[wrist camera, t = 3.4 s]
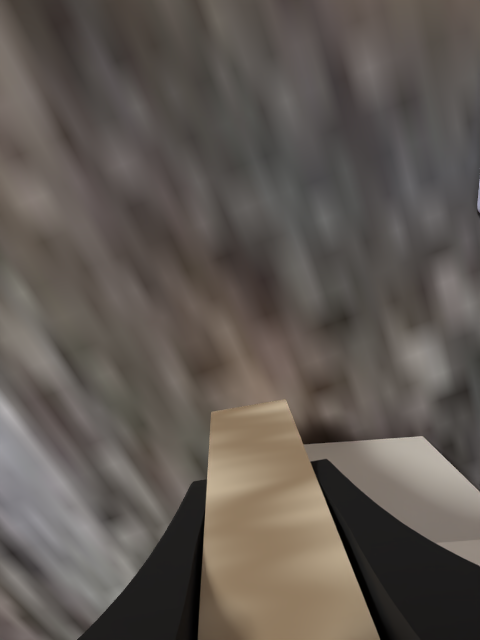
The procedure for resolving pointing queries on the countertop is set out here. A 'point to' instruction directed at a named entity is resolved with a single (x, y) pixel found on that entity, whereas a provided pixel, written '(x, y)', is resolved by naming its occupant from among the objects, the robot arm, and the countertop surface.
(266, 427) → the stick
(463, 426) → the countertop surface
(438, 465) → the tile
